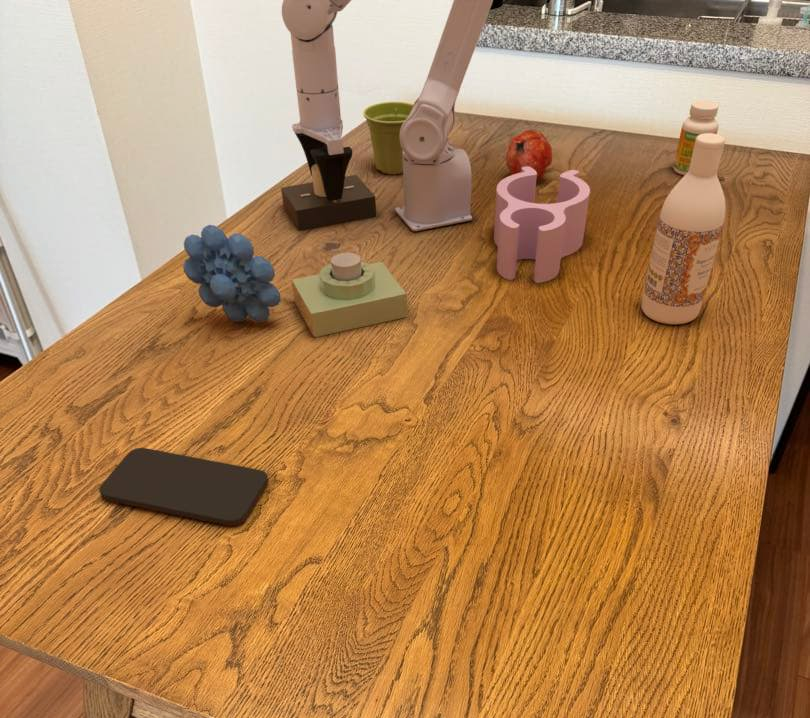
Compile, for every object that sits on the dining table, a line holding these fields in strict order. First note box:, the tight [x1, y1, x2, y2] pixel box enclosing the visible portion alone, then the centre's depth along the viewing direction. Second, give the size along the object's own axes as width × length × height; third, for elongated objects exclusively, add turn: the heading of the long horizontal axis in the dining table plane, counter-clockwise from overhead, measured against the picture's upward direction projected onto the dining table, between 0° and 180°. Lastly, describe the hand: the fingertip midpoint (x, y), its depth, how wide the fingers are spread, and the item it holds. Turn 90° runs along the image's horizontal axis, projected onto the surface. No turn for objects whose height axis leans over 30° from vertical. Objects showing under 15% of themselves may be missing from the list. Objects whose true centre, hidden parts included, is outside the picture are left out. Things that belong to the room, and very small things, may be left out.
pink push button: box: [330, 252, 362, 281], centre depth 94 cm, size 4×4×2 cm
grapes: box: [182, 224, 282, 323], centre depth 92 cm, size 12×7×12 cm, turn 78°
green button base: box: [291, 260, 408, 338], centre depth 96 cm, size 12×9×5 cm
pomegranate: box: [505, 129, 553, 182], centre depth 123 cm, size 7×7×10 cm
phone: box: [99, 447, 269, 527], centre depth 75 cm, size 7×1×15 cm
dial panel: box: [280, 174, 377, 232], centre depth 117 cm, size 12×9×3 cm
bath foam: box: [640, 133, 727, 325], centre depth 88 cm, size 7×7×20 cm
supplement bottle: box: [673, 100, 720, 177], centre depth 122 cm, size 5×5×10 cm
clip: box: [493, 166, 591, 284], centre depth 106 cm, size 20×12×7 cm, turn 165°
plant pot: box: [362, 101, 414, 175], centre depth 127 cm, size 9×9×9 cm
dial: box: [311, 164, 326, 197], centre depth 115 cm, size 4×4×4 cm
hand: (327, 189), depth 116 cm, fingers open, 7 cm apart
